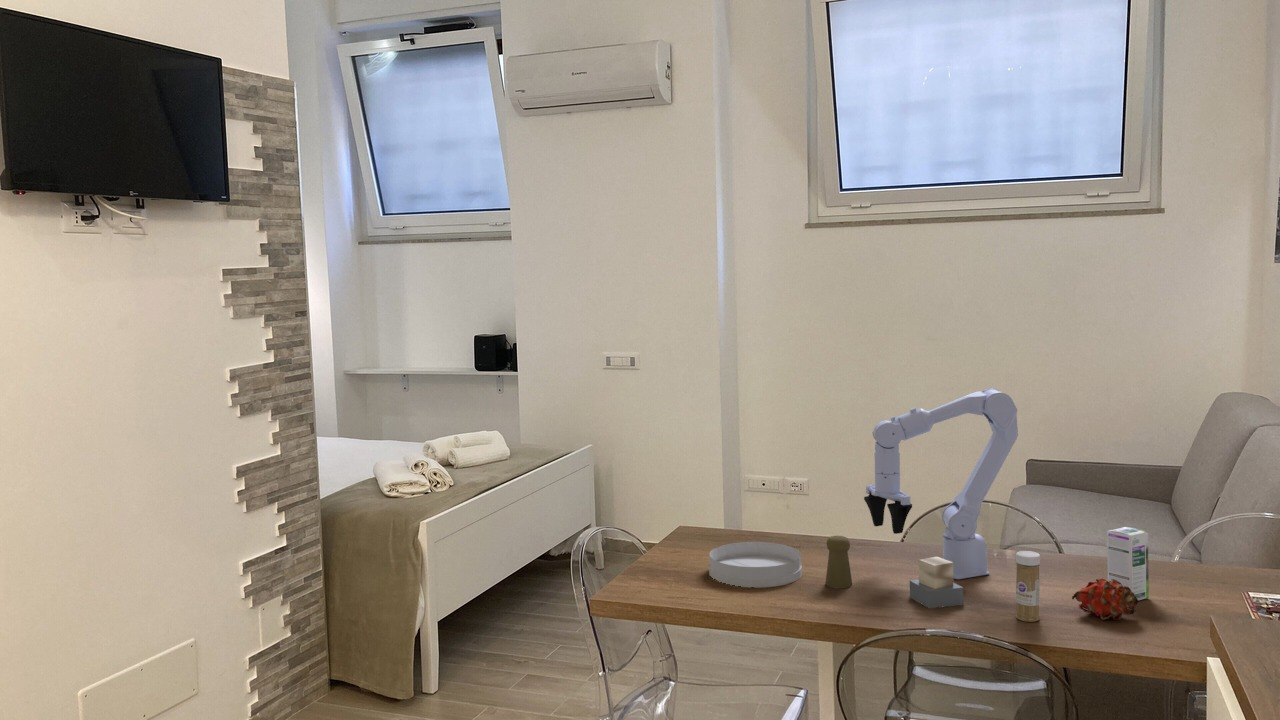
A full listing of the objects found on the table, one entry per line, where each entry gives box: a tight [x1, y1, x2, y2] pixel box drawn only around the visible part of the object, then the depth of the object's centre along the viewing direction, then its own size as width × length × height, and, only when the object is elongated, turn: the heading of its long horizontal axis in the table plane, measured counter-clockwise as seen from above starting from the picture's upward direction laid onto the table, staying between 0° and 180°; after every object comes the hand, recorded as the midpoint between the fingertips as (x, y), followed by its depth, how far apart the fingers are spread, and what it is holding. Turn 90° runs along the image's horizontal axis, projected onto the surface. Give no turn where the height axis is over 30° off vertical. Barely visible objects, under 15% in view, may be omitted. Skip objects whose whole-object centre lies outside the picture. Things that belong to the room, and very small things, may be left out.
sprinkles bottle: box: [1015, 550, 1041, 623], centre depth 190 cm, size 5×5×14 cm
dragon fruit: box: [1071, 578, 1139, 621], centre depth 190 cm, size 8×8×12 cm
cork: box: [825, 535, 853, 589], centre depth 216 cm, size 6×6×11 cm
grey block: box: [909, 578, 964, 609], centre depth 203 cm, size 8×8×4 cm
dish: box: [708, 541, 803, 589], centre depth 227 cm, size 22×22×5 cm
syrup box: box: [1106, 526, 1150, 601], centre depth 201 cm, size 6×6×14 cm
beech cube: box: [918, 556, 954, 589], centre depth 203 cm, size 5×5×5 cm
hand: (888, 529), depth 223 cm, fingers open, 7 cm apart
